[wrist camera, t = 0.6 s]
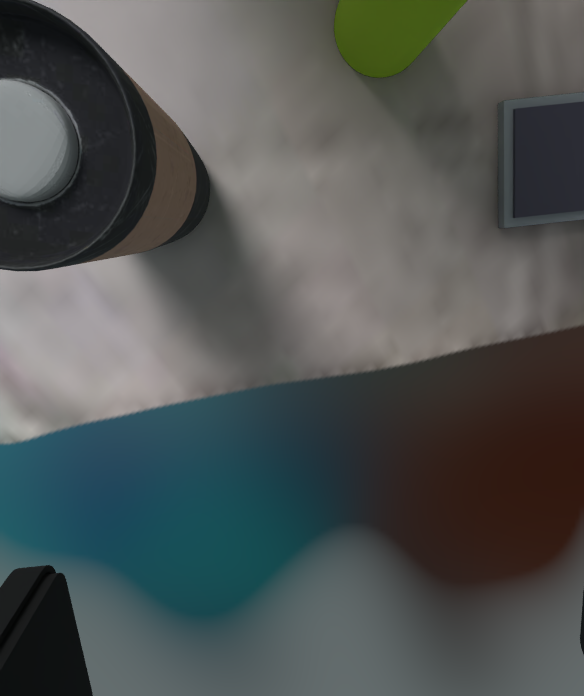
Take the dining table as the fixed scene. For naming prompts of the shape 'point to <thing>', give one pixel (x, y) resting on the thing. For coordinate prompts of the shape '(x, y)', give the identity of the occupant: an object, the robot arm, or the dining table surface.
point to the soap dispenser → (388, 31)
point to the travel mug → (84, 151)
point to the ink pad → (541, 160)
